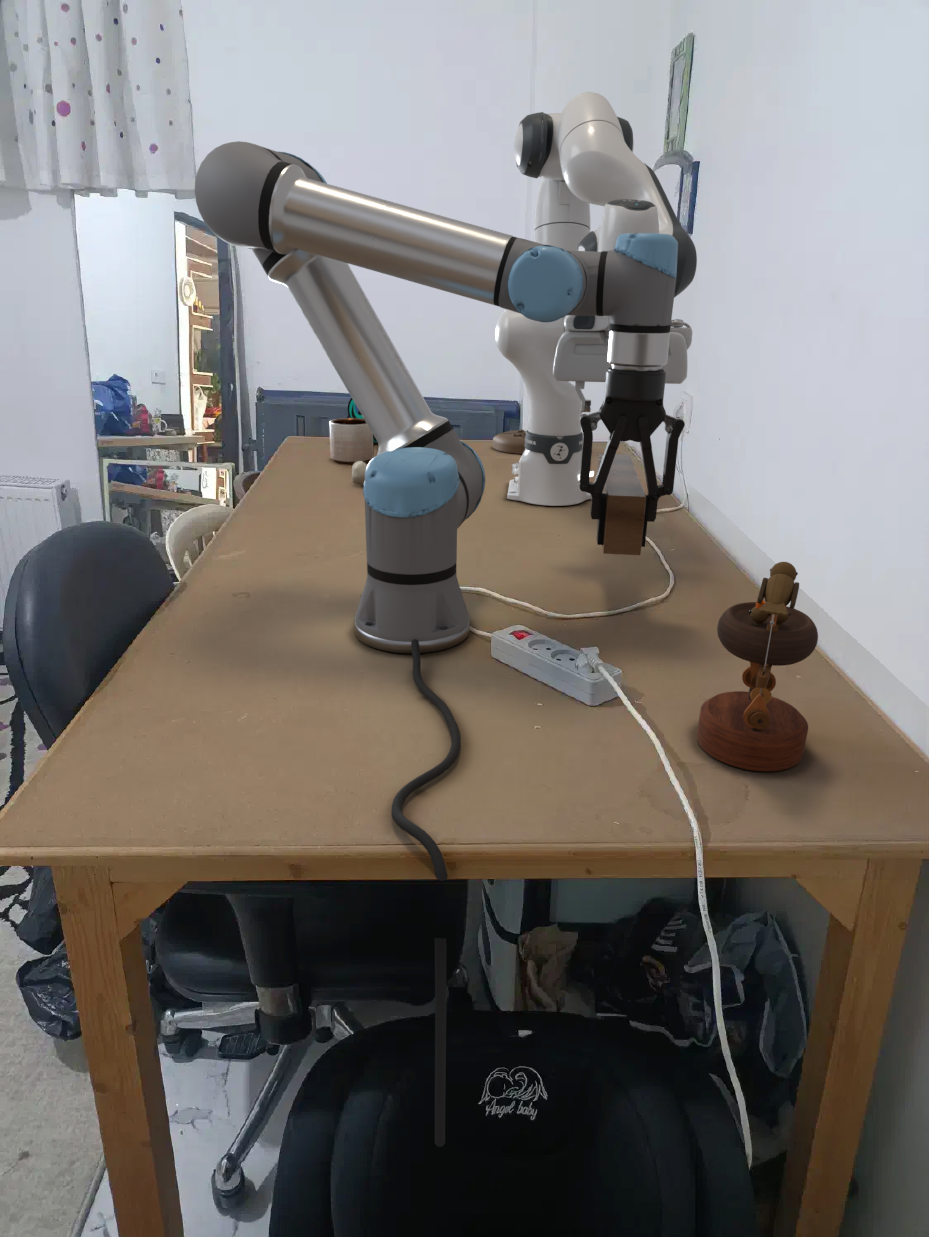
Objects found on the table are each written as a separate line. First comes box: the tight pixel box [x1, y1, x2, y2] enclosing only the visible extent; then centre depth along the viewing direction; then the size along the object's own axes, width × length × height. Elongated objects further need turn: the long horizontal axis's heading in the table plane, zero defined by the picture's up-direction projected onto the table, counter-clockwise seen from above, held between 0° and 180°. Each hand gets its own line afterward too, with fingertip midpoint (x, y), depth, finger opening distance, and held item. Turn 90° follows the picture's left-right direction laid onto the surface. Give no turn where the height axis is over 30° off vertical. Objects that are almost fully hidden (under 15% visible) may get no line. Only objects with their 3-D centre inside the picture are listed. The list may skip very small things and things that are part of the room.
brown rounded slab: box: [492, 428, 527, 455], centre depth 225 cm, size 21×28×4 cm
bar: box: [596, 453, 647, 556], centre depth 124 cm, size 28×5×8 cm, turn 174°
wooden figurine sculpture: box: [696, 561, 819, 772], centre depth 84 cm, size 15×11×20 cm
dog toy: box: [350, 461, 368, 485], centre depth 190 cm, size 20×6×5 cm, turn 99°
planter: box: [328, 417, 375, 464], centre depth 212 cm, size 11×11×10 cm
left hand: (620, 542), depth 116 cm, fingers closed on bar, 5 cm apart
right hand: (616, 412), depth 131 cm, fingers open, 8 cm apart
